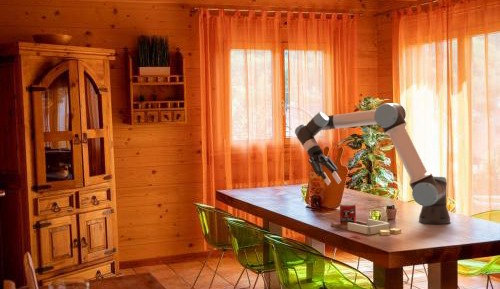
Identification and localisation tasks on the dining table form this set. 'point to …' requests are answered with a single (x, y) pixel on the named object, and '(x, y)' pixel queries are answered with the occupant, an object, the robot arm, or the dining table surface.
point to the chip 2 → (395, 231)
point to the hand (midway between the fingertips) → (334, 182)
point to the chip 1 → (384, 232)
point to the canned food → (347, 213)
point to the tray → (369, 227)
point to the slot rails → (347, 226)
